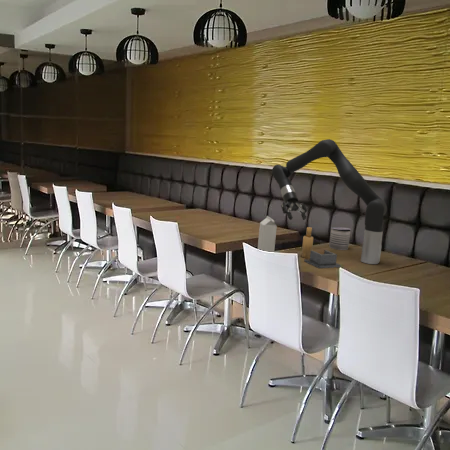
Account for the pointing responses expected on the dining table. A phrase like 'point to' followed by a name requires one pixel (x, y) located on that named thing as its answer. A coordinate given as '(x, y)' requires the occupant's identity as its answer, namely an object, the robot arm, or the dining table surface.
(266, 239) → the milk carton
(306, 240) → the amber bottle
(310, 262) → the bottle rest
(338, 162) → the robot arm
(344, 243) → the can
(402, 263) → the dining table surface
